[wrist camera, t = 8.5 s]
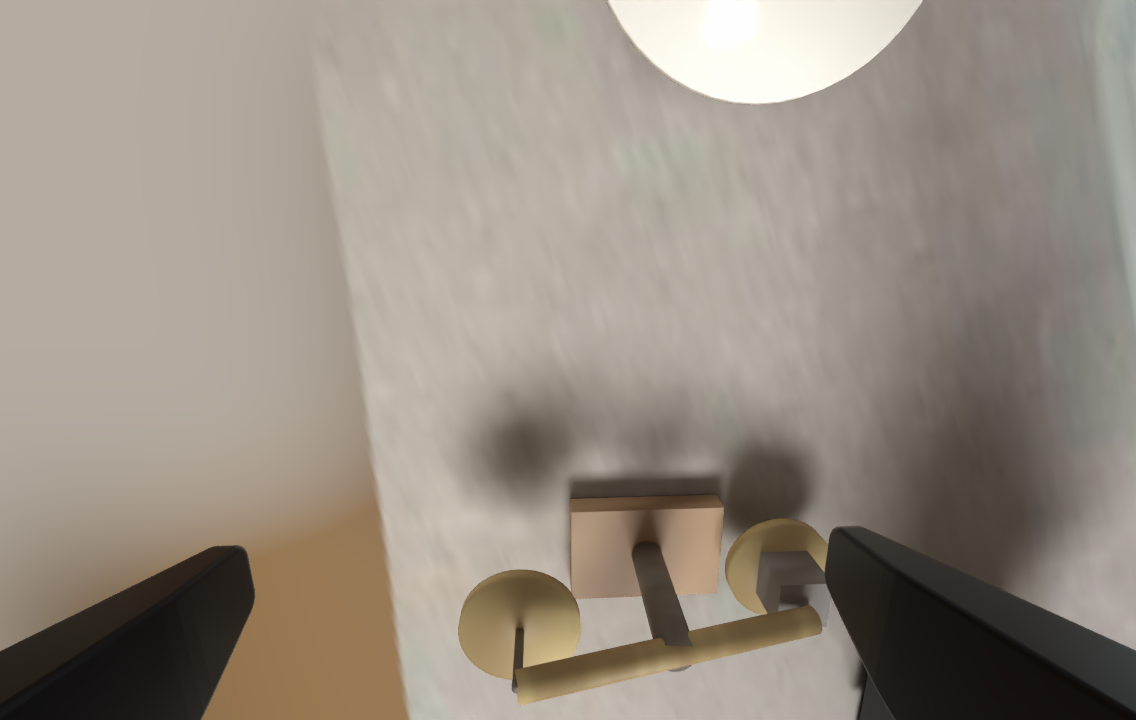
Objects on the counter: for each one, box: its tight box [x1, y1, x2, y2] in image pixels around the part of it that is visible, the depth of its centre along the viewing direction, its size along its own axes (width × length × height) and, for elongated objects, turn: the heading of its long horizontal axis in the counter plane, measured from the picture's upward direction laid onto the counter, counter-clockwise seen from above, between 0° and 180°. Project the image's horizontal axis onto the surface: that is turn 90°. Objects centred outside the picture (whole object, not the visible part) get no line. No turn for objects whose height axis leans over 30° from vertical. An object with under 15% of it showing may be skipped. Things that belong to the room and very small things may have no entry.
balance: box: [458, 494, 831, 705], centre depth 19 cm, size 14×4×7 cm, turn 90°
